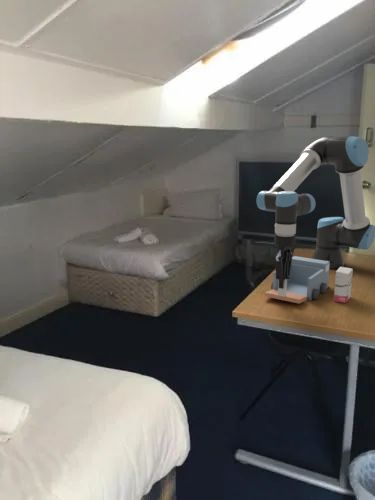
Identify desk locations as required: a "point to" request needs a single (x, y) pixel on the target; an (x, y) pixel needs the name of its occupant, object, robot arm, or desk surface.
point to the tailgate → (289, 296)
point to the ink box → (343, 284)
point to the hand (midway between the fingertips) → (282, 295)
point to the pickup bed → (306, 277)
